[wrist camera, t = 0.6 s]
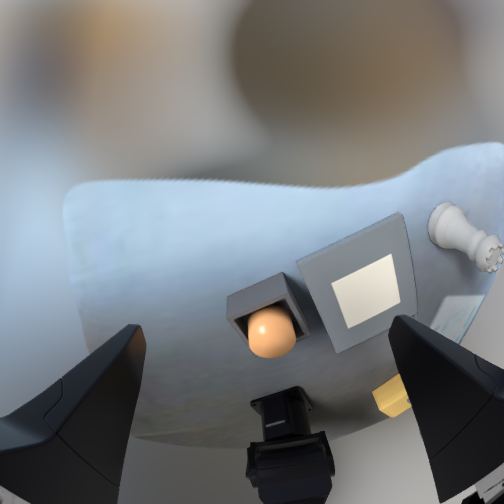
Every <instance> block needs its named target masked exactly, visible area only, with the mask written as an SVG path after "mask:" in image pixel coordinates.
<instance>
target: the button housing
mask: <svg viewBox="0 0 504 504" xmlns="http://www.w3.org/2000/svg"><path fill="white" fill-rule="evenodd" d="M268 305H275V306H280V307H282V308H284V309H285V310H287V311H288V313H289V314H290V317H291V321H292V324H293V328H294V332H295V336H296V342H297V341H299V340H302V339H304V338H306V337H309V336H310V333H309V330H308V327H307V324H306V320H305V317H304V314H303V312H302V310H301V308H300V306H299V304H298V302H297V300H296V298H295V296H294V294H293V293H292V291H291V289H290V287H289V285H288V283H287V281H286V279H285V277H284V275H283V273H282V272H281V273H279V274H277V275H275V276H272V277H270V278H268V279H266V280H263V281H261V282H259V283H257V284H254V285H252V286H250V287H248V288H245V289H243V290H241V291H239V292H236V293H234V294H232V295H229V296H227V313H226V318H227V320H228V321H229V323H230V324H231V325H232V327H233V328H234V329H235V331H236V332H237V333H238V335H239V336H240V338H241V339H242V340H243V342H244V343H245V344H246V346H247V347H248V348H249V350H250V351H251V349H250V347H249V336H248V319H249V317H250V315H251V314H252V313H253V312H254V311H256V310H258V309H261V308H263V307H265V306H268ZM251 352H252V351H251ZM252 354H253V355H254V356H255V357H258V355H256V354H255V353H253V352H252Z"/></svg>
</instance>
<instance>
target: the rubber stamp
mask: <svg viewBox="0 0 504 504" xmlns="http://www.w3.org/2000/svg"><path fill="white" fill-rule="evenodd" d="M372 393H373V396H374V398H375V401H376V403H377V405H378V408H379V410H380V411H382V412H383V413H385V414H387V415H388V416H390V417H391V418H392V417H396V416H397V415H399V414H400V413H402V412H403V411H405V410H407V409H408V408H410V407H411V403H410V400H409V398H408V395H407V392H406V390H405V387H404V384H403V382H402V379H401V377H400V374H397V375H396V376H394V377H393V378H392V379H390V380H389V381H387V382H386V383H384V384H383V385H381V386H380V387H378V388H377V389H375V390H374V391H372ZM419 430H420V429H419ZM420 435H421V432H420ZM421 437H422V435H421Z"/></svg>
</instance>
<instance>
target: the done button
mask: <svg viewBox="0 0 504 504" xmlns="http://www.w3.org/2000/svg"><path fill="white" fill-rule="evenodd" d="M248 336H249V347H250V349H251V351H252V352H253V353H255V354H256V355H258V356H260V357H264V358H276V357H280V356H282V355H285V354H286V353H288V352H289V351H290V350H291V349H292V348H293V347H294V345H295V343H296V336H295V332H294V328H293V324H292V321H291V317H290V314H289V313H288V311H287V310H285V309H284V308H282V307H280V306H275V305H268V306H265V307H263V308H261V309H258V310H256V311H254V312H253V313H252V314H251V315H250V317H249V319H248Z"/></svg>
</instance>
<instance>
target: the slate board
mask: <svg viewBox="0 0 504 504" xmlns="http://www.w3.org/2000/svg"><path fill="white" fill-rule="evenodd" d="M296 263H297V266H298V268H299V270H300V272H301V275H302V277H303V279H304V281H305V283H306V285H307V287H308V290H309V292H310V294H311V296H312V298H313V301H314V303H315V305H316V307H317V310H318V312H319V314H320V316H321V319H322V321H323V323H324V325H325V328H326V330H327V332H328V334H329V337H330V339H331V341H332V344H333V346H334V348H335V351H336V353H339V352H341V351H344V350H346V349H348V348H350V347H352V346H355V345H357V344H359V343H361V342H363V341H365V340H367V339H369V338H371V337H373V336H375V335H377V334H379V333H381V332H383V331H385V330H387V329H389V328H390V327H391V324H392V322H393V319H394V317H395V316H396V315H402V314H405V315H407V316H409V317H411V316H412V315H414V314H416V313H418V309H417V298H416V289H415V281H414V274H413V267H412V261H411V254H410V249H409V243H408V238H407V233H406V228H405V223H404V219H403V215H402V214H400V213H399V212H397V213H395V214H393V215H391V216H389V217H387V218H385V219H383V220H381V221H379V222H377V223H375V224H373V225H371V226H369V227H367V228H365V229H363V230H361V231H359V232H356V233H354V234H352V235H350V236H348V237H346V238H344V239H342V240H340V241H338V242H336V243H334V244H331V245H329V246H327V247H325V248H323V249H321V250H319V251H317V252H314V253H312V254H310V255H308V256H306V257H304V258H302V259H299V260H297V261H296Z"/></svg>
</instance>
